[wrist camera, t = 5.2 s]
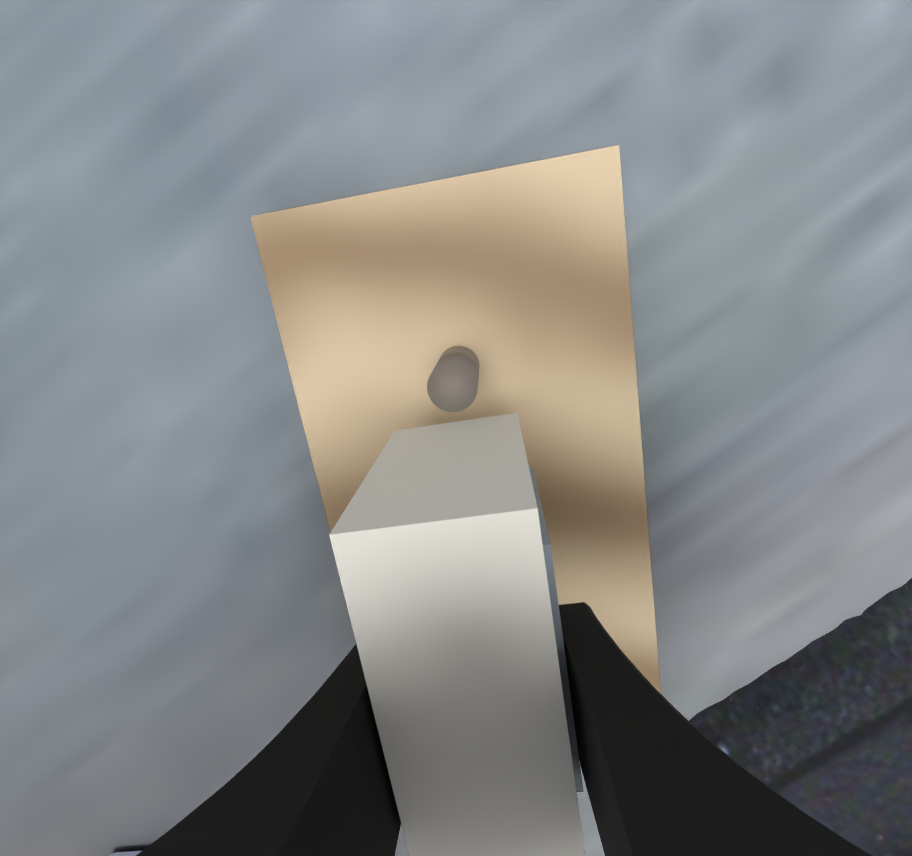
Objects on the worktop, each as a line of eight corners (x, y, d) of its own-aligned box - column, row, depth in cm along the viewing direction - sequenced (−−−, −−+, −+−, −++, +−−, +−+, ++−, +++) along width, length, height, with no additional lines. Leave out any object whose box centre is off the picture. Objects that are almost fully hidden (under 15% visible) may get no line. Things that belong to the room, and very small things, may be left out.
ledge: (655, 729, 20) (697, 843, 16) (398, 750, 21) (377, 863, 17) (608, 155, 15) (654, 110, 11) (267, 220, 16) (192, 202, 12)
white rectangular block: (557, 659, 14) (597, 880, 9) (443, 670, 15) (418, 889, 9) (523, 411, 13) (548, 506, 7) (394, 430, 13) (328, 534, 8)
